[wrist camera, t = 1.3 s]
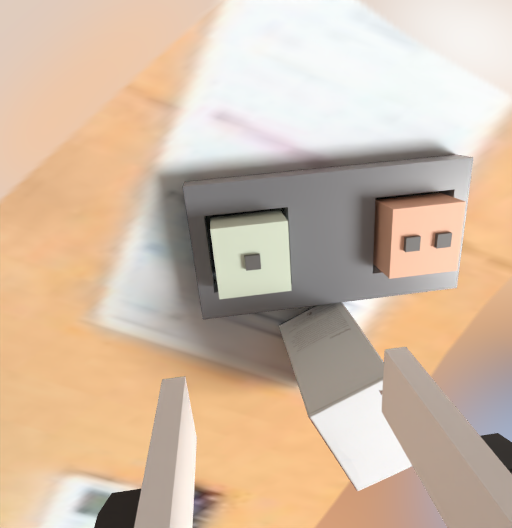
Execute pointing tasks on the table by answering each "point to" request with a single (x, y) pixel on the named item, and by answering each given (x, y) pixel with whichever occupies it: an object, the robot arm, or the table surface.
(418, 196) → the peach rectangular block
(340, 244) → the board
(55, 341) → the table surface
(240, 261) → the pale green button
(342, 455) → the small box
